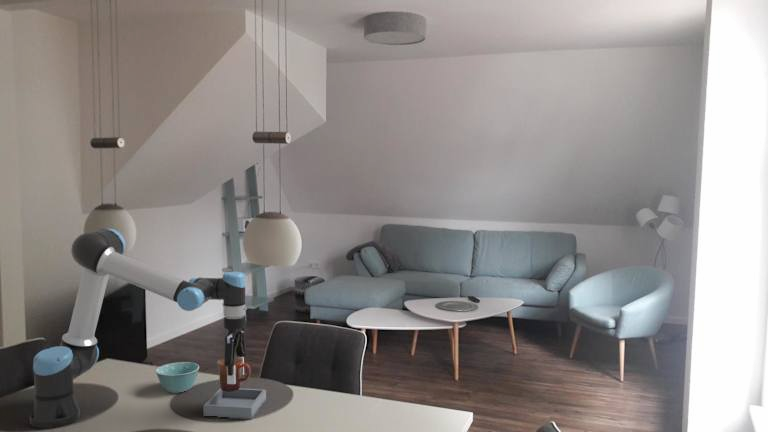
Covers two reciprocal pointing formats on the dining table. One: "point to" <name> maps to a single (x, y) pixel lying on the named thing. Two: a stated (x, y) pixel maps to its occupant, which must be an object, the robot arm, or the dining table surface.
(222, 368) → the mug
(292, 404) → the dining table surface
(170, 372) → the bowl
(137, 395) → the dining table surface
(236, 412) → the tray
